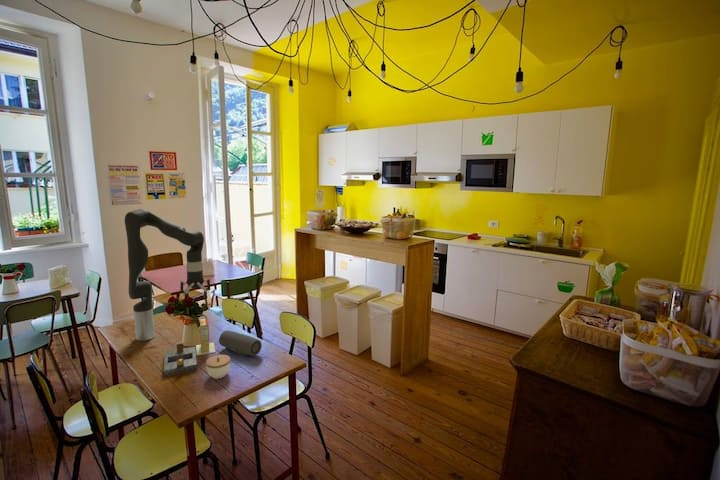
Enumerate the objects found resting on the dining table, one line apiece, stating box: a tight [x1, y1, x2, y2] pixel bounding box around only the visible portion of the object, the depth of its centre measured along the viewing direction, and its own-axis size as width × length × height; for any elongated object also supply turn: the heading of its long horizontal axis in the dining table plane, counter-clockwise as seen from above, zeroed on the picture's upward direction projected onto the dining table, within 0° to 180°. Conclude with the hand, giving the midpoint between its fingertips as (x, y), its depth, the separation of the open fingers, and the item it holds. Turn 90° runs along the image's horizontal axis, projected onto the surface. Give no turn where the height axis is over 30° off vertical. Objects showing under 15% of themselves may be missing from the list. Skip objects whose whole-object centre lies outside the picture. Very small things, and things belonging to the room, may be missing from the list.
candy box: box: [199, 318, 210, 352], centre depth 188 cm, size 9×4×15 cm, turn 26°
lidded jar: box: [205, 354, 231, 380], centre depth 164 cm, size 11×11×9 cm
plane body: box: [163, 341, 198, 377], centre depth 174 cm, size 20×14×7 cm
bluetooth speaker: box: [218, 330, 263, 357], centre depth 187 cm, size 23×9×10 cm, turn 63°
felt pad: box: [195, 342, 216, 357], centre depth 190 cm, size 12×9×1 cm
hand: (196, 298), depth 185 cm, fingers open, 8 cm apart
